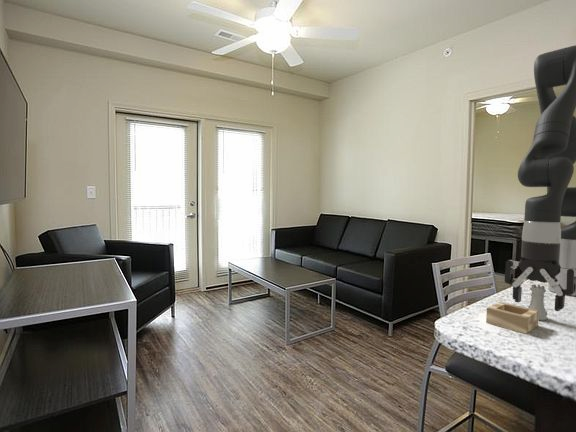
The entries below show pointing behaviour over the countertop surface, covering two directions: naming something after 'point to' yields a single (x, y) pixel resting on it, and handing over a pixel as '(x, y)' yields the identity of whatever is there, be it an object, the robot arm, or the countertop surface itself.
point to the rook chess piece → (538, 301)
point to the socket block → (512, 317)
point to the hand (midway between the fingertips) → (536, 305)
